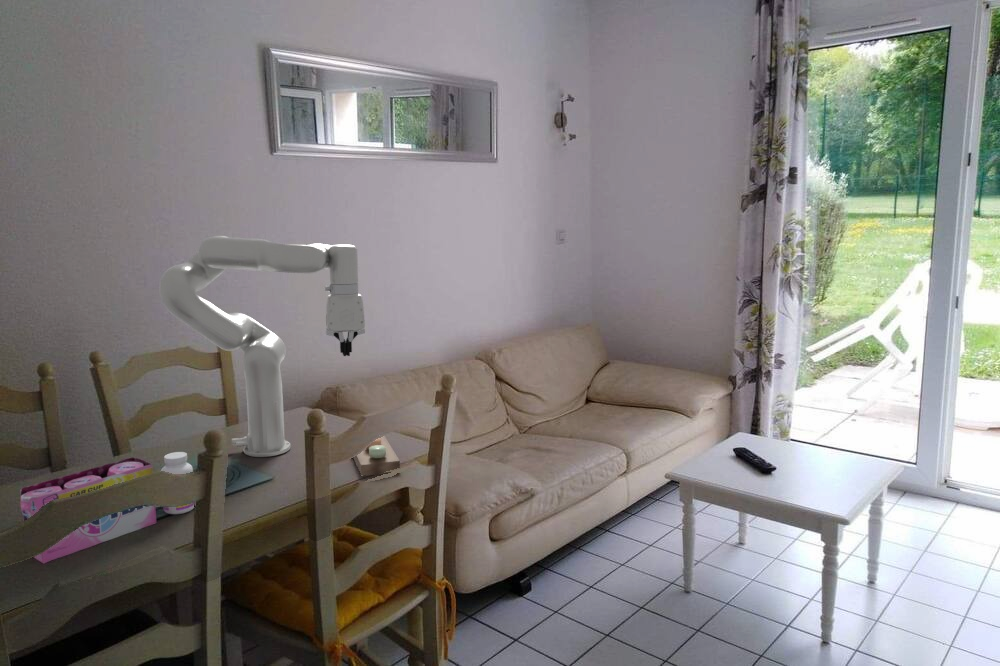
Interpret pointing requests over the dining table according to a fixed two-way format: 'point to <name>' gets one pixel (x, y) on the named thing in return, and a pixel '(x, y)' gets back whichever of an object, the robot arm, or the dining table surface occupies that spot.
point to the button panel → (377, 461)
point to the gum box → (85, 483)
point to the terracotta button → (375, 443)
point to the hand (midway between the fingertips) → (346, 355)
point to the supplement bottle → (177, 466)
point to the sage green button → (377, 451)
